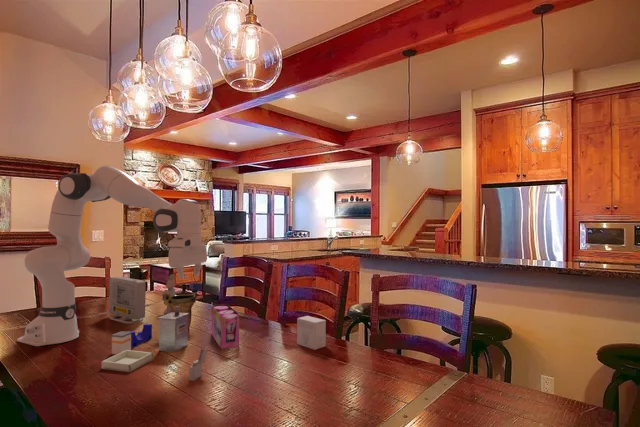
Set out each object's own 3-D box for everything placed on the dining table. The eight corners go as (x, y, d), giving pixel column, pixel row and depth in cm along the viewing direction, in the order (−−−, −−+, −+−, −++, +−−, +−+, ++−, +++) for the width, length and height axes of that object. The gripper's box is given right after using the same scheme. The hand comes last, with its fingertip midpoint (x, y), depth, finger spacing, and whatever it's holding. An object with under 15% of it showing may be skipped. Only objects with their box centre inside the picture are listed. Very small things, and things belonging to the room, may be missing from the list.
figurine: (173, 309, 206) (173, 273, 206) (183, 311, 201) (183, 274, 202) (159, 313, 198) (159, 275, 198) (169, 315, 194) (169, 276, 194)
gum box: (240, 347, 146) (240, 315, 146) (221, 350, 142) (221, 317, 142) (227, 332, 166) (228, 303, 166) (210, 334, 162) (211, 305, 162)
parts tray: (101, 368, 125) (101, 361, 125) (126, 356, 135) (126, 349, 136) (129, 372, 122) (129, 364, 122) (152, 359, 133) (153, 352, 133)
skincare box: (326, 346, 147) (326, 319, 148) (315, 350, 143) (315, 323, 143) (307, 340, 155) (307, 314, 155) (296, 344, 150) (296, 317, 150)
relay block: (111, 354, 138) (111, 334, 138) (121, 349, 143) (121, 331, 143) (121, 355, 137) (122, 335, 137) (131, 350, 142) (131, 332, 142)
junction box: (157, 350, 142) (157, 309, 142) (171, 343, 150) (172, 304, 150) (175, 352, 140) (175, 311, 140) (188, 345, 148) (189, 305, 148)
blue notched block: (142, 337, 158) (142, 323, 158) (151, 338, 157) (151, 324, 157) (122, 347, 146) (122, 332, 146) (132, 348, 145) (132, 332, 145)
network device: (149, 320, 183) (149, 280, 183) (132, 325, 176) (132, 282, 176) (120, 313, 197) (120, 275, 197) (103, 317, 189) (104, 278, 190)
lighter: (193, 381, 115) (193, 355, 115) (189, 380, 116) (189, 354, 116) (207, 372, 122) (207, 347, 122) (202, 371, 123) (203, 347, 123)
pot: (169, 337, 157) (170, 295, 158) (155, 332, 164) (156, 291, 164) (204, 328, 171) (204, 288, 171) (190, 323, 178) (190, 286, 178)
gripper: (197, 239, 155) (197, 272, 154) (165, 242, 135) (165, 280, 135) (210, 239, 153) (211, 273, 153) (180, 242, 133) (180, 281, 133)
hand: (189, 276), depth 143 cm, fingers open, 8 cm apart
